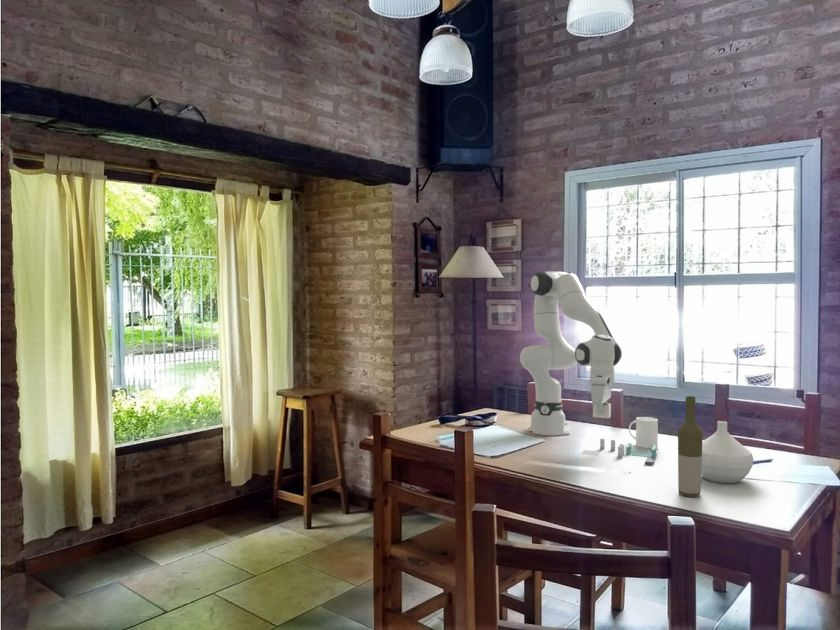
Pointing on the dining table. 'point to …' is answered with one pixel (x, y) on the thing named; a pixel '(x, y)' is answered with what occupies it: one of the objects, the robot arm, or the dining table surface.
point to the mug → (646, 432)
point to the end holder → (639, 453)
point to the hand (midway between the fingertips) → (601, 413)
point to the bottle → (689, 453)
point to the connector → (605, 411)
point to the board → (620, 451)
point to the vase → (724, 457)
